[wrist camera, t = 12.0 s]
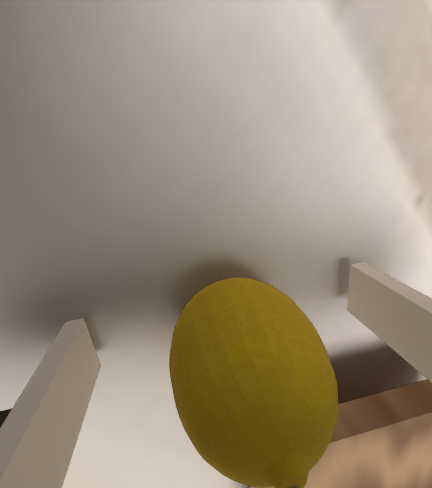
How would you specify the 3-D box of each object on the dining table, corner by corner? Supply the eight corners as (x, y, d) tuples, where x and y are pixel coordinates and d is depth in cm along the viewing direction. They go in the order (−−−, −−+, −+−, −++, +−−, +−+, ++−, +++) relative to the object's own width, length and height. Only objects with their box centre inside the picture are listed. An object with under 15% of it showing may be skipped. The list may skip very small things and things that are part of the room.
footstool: (252, 466, 11) (519, 386, 13) (228, 379, 15) (432, 328, 17) (267, 604, 16) (458, 532, 18) (246, 510, 20) (402, 460, 22)
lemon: (158, 263, 12) (144, 446, 4) (270, 241, 13) (420, 368, 5) (179, 354, 14) (194, 586, 6) (275, 331, 15) (389, 516, 7)
